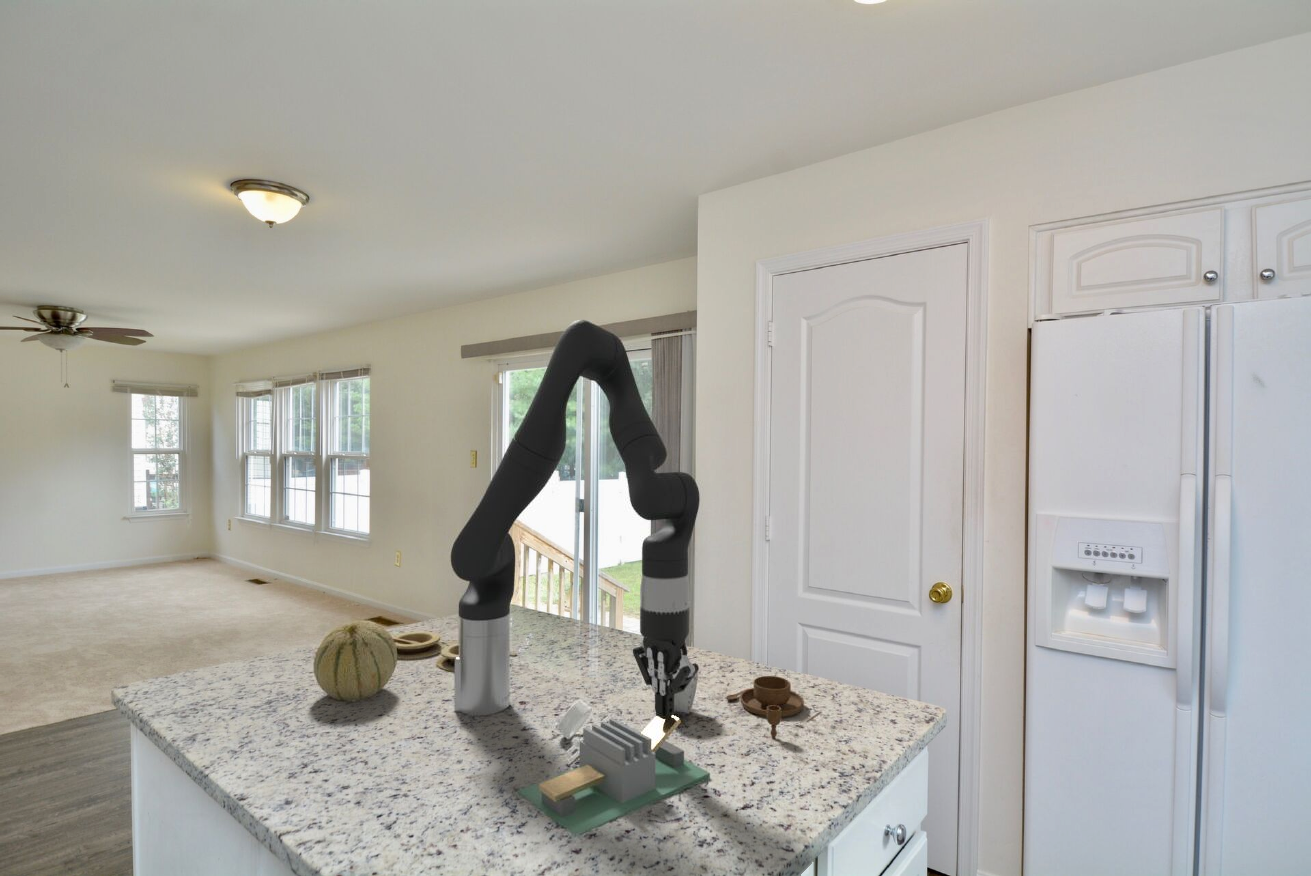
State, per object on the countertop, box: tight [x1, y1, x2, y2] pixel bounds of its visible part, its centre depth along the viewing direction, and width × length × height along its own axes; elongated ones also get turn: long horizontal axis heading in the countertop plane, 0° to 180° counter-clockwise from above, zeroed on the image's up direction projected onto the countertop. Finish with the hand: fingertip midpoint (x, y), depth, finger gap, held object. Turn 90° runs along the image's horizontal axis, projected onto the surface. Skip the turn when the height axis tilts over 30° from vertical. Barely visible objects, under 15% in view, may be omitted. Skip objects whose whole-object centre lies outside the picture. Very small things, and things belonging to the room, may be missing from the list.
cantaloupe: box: [313, 620, 398, 702], centre depth 132 cm, size 15×15×15 cm
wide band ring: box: [547, 699, 627, 766], centre depth 114 cm, size 18×10×6 cm
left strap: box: [539, 765, 605, 802], centre depth 94 cm, size 8×4×1 cm, turn 131°
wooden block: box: [640, 715, 682, 753], centre depth 104 cm, size 8×4×1 cm, turn 131°
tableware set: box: [391, 630, 517, 673], centre depth 157 cm, size 30×20×6 cm, turn 63°
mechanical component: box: [673, 671, 699, 716], centre depth 125 cm, size 10×4×10 cm, turn 168°
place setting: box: [725, 675, 822, 740], centre depth 127 cm, size 18×20×6 cm
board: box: [517, 717, 711, 837], centre depth 99 cm, size 24×14×8 cm, turn 131°
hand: (664, 716), depth 105 cm, fingers closed
